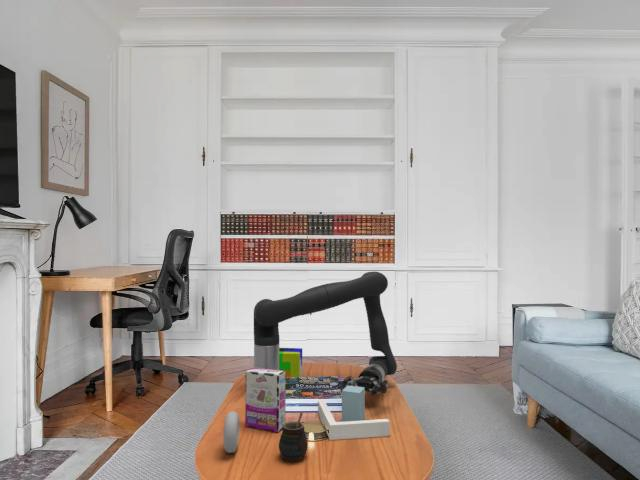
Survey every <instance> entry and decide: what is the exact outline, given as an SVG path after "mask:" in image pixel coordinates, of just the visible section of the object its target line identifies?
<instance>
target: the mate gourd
mask: <svg viewBox="0 0 640 480" xmlns="http://www.w3.org/2000/svg"><path fill="white" fill-rule="evenodd" d="M302 416H303V412H300V413H299V417H298V420H297V421H289V422H288V421H286V422H285V424H283V426H282V427H283V429H282V430H281V431H282V432H281V434H280V438H279V442H278V449H279V453H280V456H281V457H282V458H283V459H284V460H286V461H288V462H297V461H299V460H301V459H303V457H305V456H306V454H307V451H308V446H309V445H308V444H309V443H308V440H307V439H308V438H307V435H306V432H305V425H304V423H303V422H301V420H302Z"/></svg>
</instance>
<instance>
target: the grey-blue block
mask: <svg viewBox="0 0 640 480" xmlns="http://www.w3.org/2000/svg"><path fill="white" fill-rule="evenodd" d="M365 403H366V391H365V387H358V386H357V387H356V386H353V385H351V386H348V385H347V386H346V387H345V388H342V391H341V419H342V422H346V421H362V420H365V419H366V415H365V413H366V411H365V410H366V408H365V407H366V404H365Z"/></svg>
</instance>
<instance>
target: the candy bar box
mask: <svg viewBox="0 0 640 480" xmlns="http://www.w3.org/2000/svg"><path fill="white" fill-rule="evenodd" d="M285 372H286V371H280V370H271V369H261V368H254V367H252V368H250V369H248V370H246V371H245V413H244V415H245V422H244V423H245V427H246V428H250V429H255V430H261V431H263V430H264V431H269V432H275V433H279V432H280V431H282V430H283V427H282V426H283V424H285V423H286V386H287V385H286V378H285V377H286V374H285Z"/></svg>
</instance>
